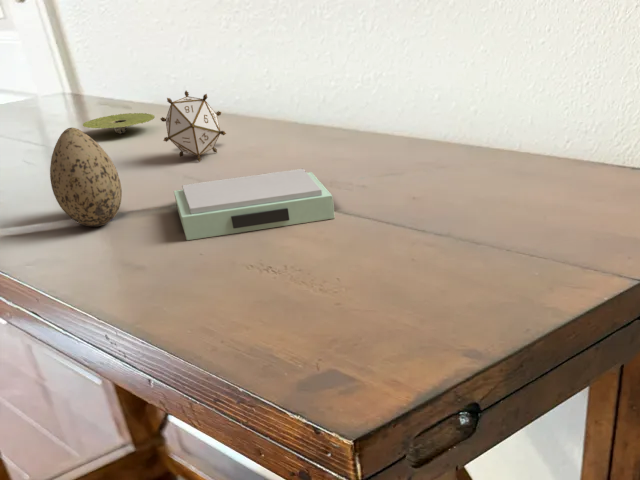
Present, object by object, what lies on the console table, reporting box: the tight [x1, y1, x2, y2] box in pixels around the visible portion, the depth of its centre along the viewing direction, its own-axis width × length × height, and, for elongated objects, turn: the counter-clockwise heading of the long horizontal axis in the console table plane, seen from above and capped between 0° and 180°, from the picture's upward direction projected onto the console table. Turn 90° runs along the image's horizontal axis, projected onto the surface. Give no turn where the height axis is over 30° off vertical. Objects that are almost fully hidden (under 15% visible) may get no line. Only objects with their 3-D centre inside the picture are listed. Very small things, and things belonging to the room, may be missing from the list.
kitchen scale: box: [173, 168, 336, 241], centre depth 90 cm, size 16×11×3 cm
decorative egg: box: [49, 127, 123, 228], centre depth 88 cm, size 7×7×10 cm
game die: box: [159, 90, 227, 163], centre depth 112 cm, size 9×8×10 cm
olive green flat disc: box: [82, 112, 155, 135], centre depth 130 cm, size 11×11×2 cm
